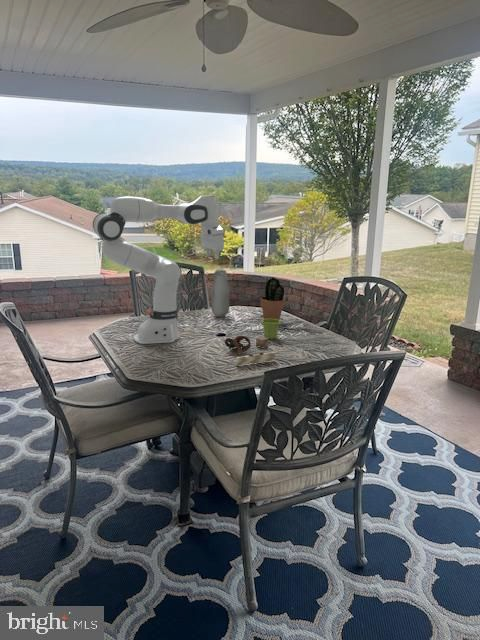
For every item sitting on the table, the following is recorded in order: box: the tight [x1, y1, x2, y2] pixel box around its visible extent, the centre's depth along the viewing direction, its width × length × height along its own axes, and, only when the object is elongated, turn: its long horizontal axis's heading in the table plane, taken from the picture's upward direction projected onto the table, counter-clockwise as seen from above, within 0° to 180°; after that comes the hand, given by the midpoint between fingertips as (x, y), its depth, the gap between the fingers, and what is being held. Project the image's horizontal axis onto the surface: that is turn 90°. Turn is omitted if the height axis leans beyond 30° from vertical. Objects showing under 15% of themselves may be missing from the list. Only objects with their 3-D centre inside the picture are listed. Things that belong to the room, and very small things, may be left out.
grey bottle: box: [210, 268, 230, 318], centre depth 264 cm, size 10×10×28 cm
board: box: [235, 351, 276, 365], centre depth 192 cm, size 18×2×5 cm, turn 116°
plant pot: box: [261, 318, 281, 340], centre depth 229 cm, size 9×9×9 cm
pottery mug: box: [223, 335, 252, 354], centre depth 207 cm, size 12×10×8 cm
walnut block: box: [255, 336, 269, 348], centre depth 215 cm, size 4×4×4 cm
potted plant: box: [260, 277, 285, 321], centre depth 258 cm, size 14×14×25 cm
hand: (212, 257), depth 224 cm, fingers open, 8 cm apart
